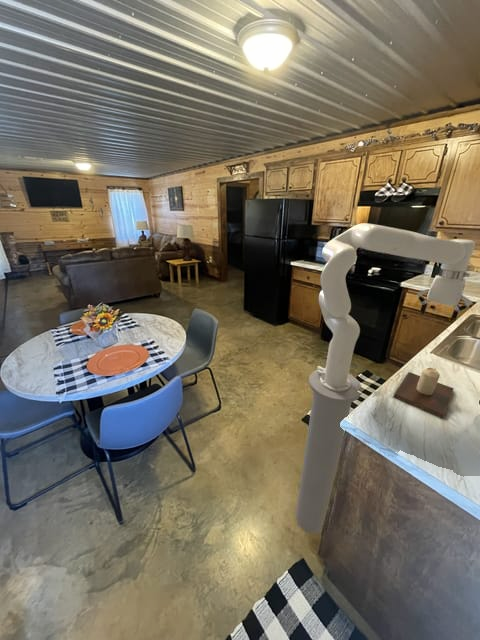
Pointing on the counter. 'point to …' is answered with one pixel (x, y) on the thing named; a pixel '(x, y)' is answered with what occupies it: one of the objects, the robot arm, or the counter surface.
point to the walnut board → (425, 402)
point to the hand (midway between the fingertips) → (437, 316)
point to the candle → (428, 381)
